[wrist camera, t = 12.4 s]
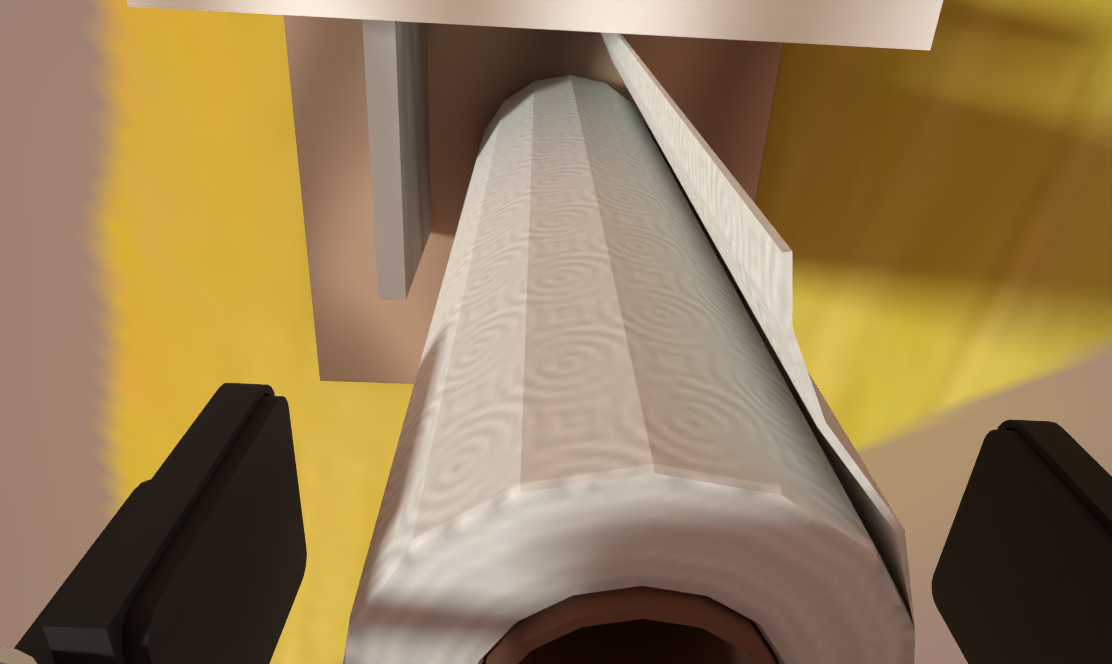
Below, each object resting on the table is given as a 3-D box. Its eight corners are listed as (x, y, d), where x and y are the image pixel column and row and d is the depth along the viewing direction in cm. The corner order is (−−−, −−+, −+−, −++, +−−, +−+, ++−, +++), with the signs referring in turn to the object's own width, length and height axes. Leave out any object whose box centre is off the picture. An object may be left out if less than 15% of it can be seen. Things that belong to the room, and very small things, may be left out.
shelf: (785, -47, 25) (951, -31, 15) (713, 375, 33) (792, 578, 22) (289, -76, 25) (111, -82, 14) (329, 361, 32) (231, 563, 22)
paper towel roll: (562, 277, 29) (606, 947, 10) (442, 160, 27) (204, 725, 8) (715, 143, 27) (1153, 672, 8) (597, 5, 25) (799, 259, 6)
